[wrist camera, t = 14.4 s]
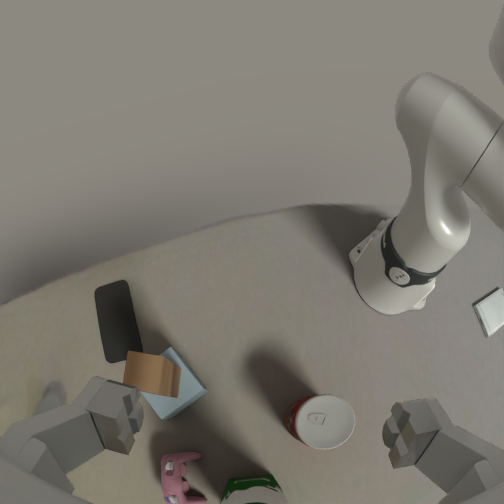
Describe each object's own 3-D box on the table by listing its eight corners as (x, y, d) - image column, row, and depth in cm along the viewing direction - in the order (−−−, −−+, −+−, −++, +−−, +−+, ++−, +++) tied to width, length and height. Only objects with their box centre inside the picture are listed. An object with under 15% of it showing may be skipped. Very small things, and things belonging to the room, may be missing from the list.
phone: (106, 364, 44) (93, 289, 51) (108, 365, 45) (95, 291, 52) (143, 354, 46) (126, 278, 52) (144, 355, 46) (128, 280, 53)
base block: (179, 354, 47) (170, 346, 41) (208, 391, 44) (203, 388, 38) (143, 380, 44) (130, 376, 39) (171, 418, 41) (161, 419, 36)
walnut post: (181, 368, 40) (163, 356, 31) (178, 398, 37) (158, 394, 29) (152, 364, 40) (128, 350, 31) (148, 393, 38) (122, 386, 29)
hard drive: (501, 287, 52) (475, 304, 50) (514, 315, 48) (489, 336, 46) (497, 289, 53) (471, 307, 51) (510, 318, 49) (484, 339, 47)
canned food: (287, 395, 43) (298, 392, 34) (335, 398, 43) (358, 394, 33) (281, 440, 39) (291, 449, 30) (330, 442, 39) (353, 449, 29)
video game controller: (181, 449, 39) (152, 452, 34) (204, 450, 38) (175, 456, 32) (187, 499, 34) (159, 508, 29) (210, 503, 33) (182, 515, 27)
